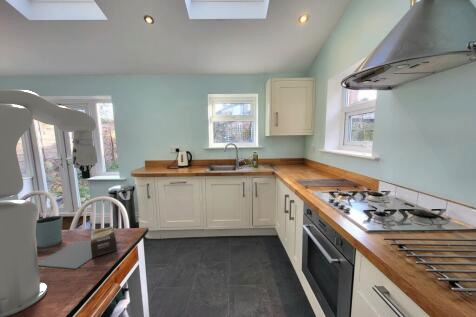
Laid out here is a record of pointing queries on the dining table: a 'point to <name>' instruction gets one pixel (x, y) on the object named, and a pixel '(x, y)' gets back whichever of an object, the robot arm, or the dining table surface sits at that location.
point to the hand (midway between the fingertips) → (86, 178)
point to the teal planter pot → (49, 231)
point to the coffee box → (103, 241)
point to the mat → (69, 256)
